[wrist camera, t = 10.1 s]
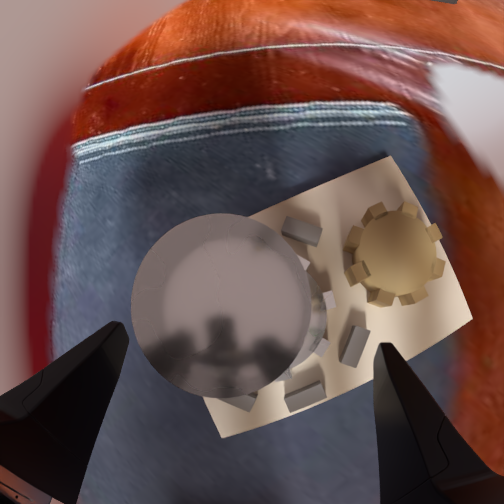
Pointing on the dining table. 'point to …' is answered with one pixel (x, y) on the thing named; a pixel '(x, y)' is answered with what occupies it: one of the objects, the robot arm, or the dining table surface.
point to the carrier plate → (356, 288)
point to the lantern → (448, 1)
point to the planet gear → (227, 307)
